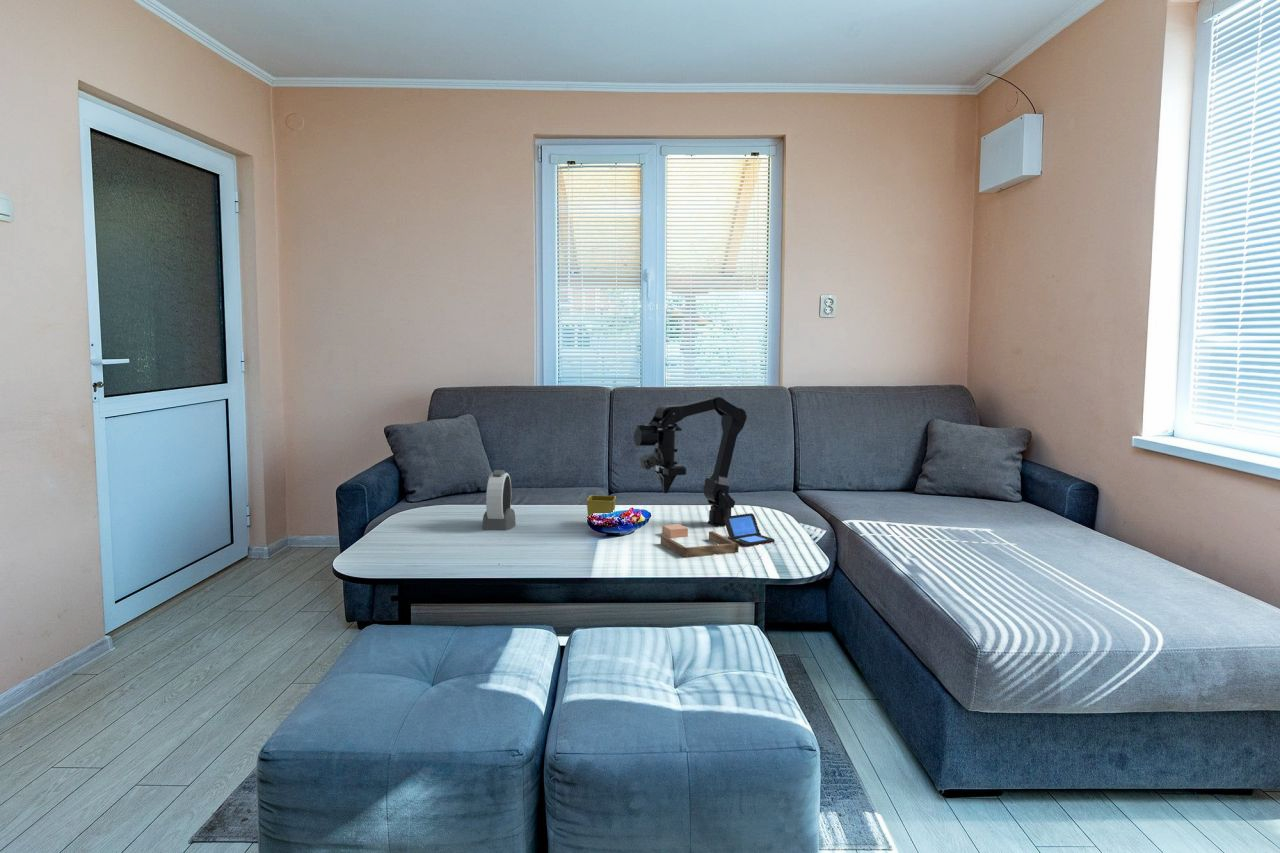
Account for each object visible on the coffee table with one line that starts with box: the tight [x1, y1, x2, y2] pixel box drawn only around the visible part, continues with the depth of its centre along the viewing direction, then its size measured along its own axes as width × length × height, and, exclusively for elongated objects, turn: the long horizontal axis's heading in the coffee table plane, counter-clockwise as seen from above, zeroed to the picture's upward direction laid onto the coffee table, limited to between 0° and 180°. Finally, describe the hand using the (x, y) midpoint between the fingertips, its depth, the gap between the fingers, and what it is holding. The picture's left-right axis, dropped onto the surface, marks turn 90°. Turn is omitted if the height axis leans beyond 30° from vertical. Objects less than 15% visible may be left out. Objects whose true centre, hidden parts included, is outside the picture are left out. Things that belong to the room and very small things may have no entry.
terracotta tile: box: [661, 523, 689, 539], centre depth 245 cm, size 6×6×3 cm
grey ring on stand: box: [482, 469, 516, 531], centre depth 253 cm, size 16×10×18 cm, turn 179°
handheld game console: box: [724, 512, 775, 548], centre depth 239 cm, size 12×11×7 cm
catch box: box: [660, 530, 740, 559], centre depth 230 cm, size 17×16×2 cm
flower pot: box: [586, 494, 617, 518], centre depth 257 cm, size 9×9×9 cm
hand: (665, 493), depth 251 cm, fingers closed
